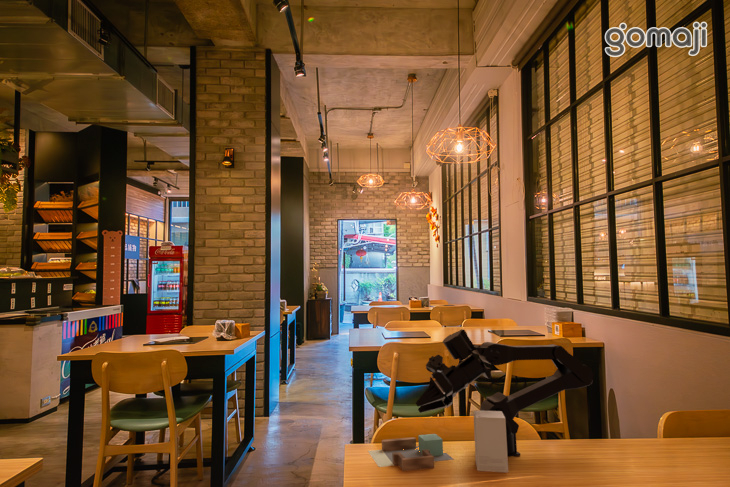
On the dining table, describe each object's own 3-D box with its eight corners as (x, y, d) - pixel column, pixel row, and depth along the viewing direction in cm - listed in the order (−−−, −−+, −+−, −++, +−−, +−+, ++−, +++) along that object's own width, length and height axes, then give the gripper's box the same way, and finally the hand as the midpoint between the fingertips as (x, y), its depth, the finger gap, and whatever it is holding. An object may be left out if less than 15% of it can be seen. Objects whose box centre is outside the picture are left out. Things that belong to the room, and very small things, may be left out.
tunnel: (414, 447, 120) (414, 437, 121) (436, 468, 105) (435, 456, 105) (381, 450, 118) (381, 440, 119) (399, 472, 103) (398, 460, 103)
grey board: (436, 445, 122) (436, 444, 122) (454, 460, 110) (453, 459, 110) (367, 452, 117) (367, 450, 117) (378, 468, 106) (378, 466, 106)
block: (435, 449, 118) (435, 433, 119) (443, 455, 113) (442, 439, 114) (418, 450, 117) (418, 435, 118) (425, 456, 112) (424, 440, 113)
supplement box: (509, 474, 101) (506, 418, 103) (476, 472, 103) (474, 416, 104) (505, 462, 108) (502, 410, 110) (475, 460, 110) (472, 409, 111)
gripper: (445, 359, 129) (403, 390, 126) (444, 339, 113) (396, 374, 111) (470, 390, 123) (426, 423, 121) (472, 374, 107) (422, 412, 105)
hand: (417, 408), depth 114 cm, fingers open, 9 cm apart
